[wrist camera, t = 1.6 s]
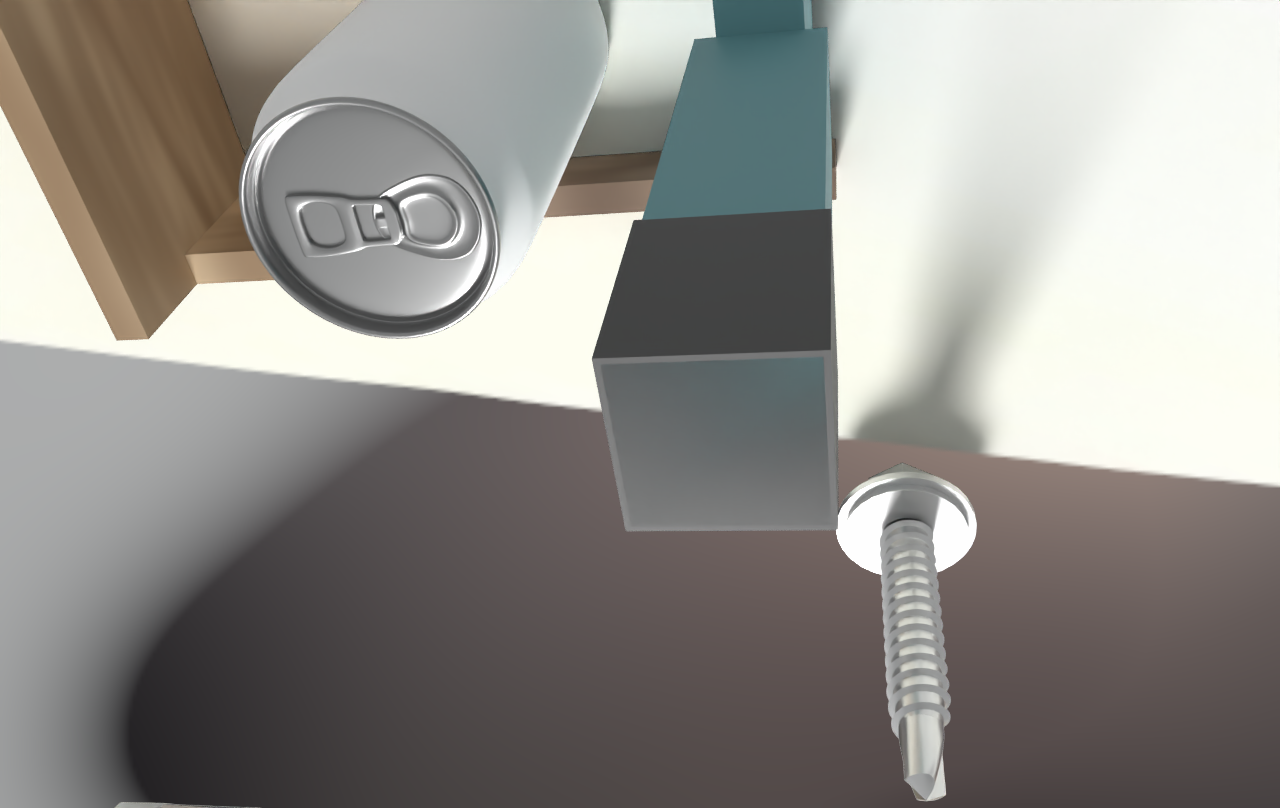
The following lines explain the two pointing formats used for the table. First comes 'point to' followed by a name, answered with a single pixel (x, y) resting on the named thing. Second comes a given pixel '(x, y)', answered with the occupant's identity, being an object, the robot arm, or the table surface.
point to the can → (419, 155)
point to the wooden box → (171, 152)
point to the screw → (911, 600)
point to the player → (732, 294)
